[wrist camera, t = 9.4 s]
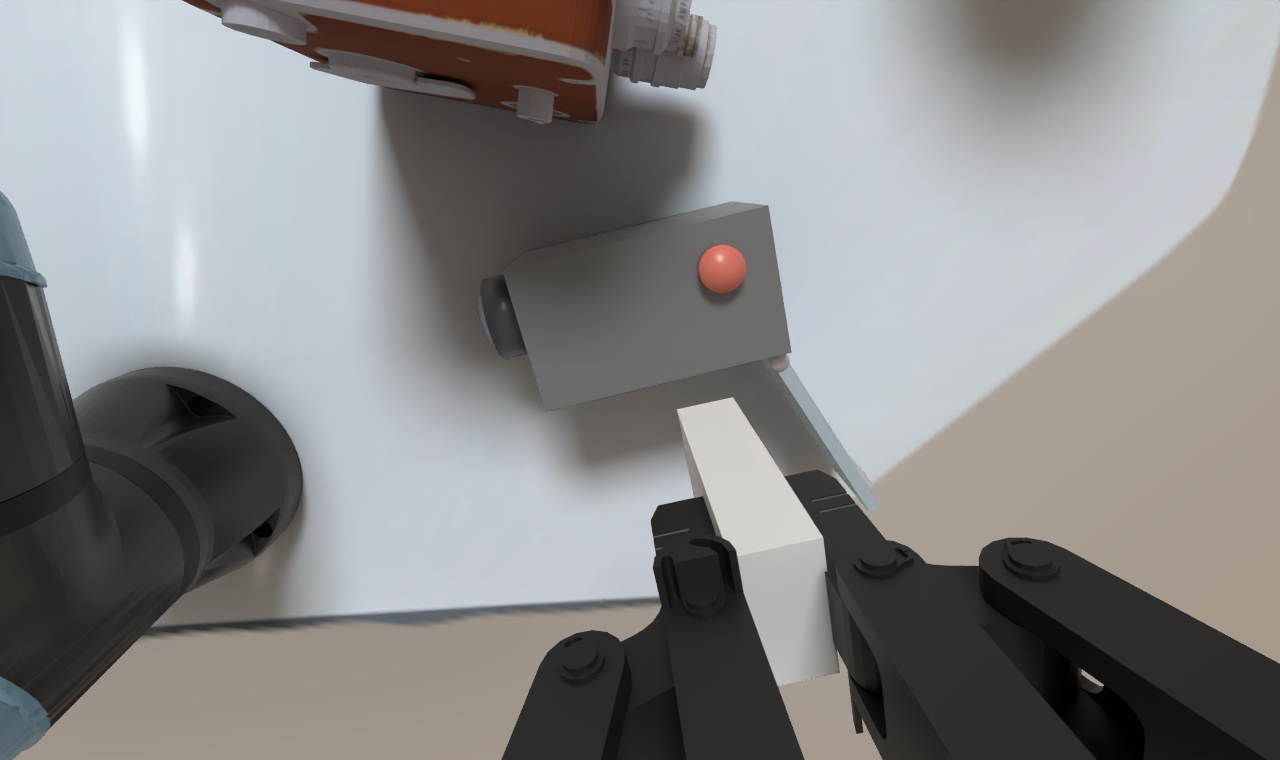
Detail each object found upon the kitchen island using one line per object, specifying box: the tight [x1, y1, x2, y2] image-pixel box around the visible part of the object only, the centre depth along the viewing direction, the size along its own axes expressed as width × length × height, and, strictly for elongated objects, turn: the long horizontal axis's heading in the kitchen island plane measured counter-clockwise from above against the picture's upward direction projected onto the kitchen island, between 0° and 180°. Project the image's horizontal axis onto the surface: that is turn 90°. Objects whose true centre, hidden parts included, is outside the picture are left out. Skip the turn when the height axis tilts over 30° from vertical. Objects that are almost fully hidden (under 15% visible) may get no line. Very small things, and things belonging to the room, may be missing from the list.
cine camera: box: [183, 0, 717, 124], centre depth 26 cm, size 9×19×20 cm, turn 81°
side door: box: [761, 354, 881, 513], centre depth 39 cm, size 13×1×7 cm, turn 35°
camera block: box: [478, 202, 791, 412], centre depth 36 cm, size 16×8×10 cm, turn 103°
